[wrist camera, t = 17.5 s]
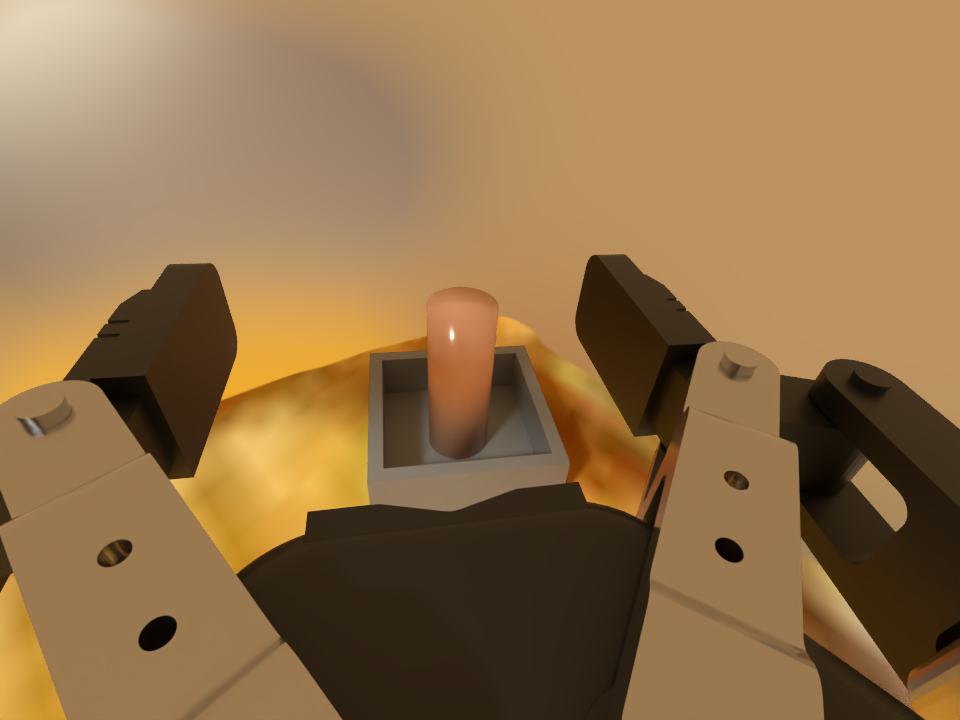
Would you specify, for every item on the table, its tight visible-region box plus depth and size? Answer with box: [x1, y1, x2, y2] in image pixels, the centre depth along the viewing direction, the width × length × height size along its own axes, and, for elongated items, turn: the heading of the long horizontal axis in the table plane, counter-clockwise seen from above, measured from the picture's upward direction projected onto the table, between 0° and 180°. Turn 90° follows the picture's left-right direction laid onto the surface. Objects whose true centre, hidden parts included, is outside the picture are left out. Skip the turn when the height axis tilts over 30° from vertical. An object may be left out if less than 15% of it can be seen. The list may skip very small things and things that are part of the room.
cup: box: [427, 287, 498, 459], centre depth 42 cm, size 6×6×15 cm
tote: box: [367, 346, 571, 511], centre depth 46 cm, size 16×16×5 cm
